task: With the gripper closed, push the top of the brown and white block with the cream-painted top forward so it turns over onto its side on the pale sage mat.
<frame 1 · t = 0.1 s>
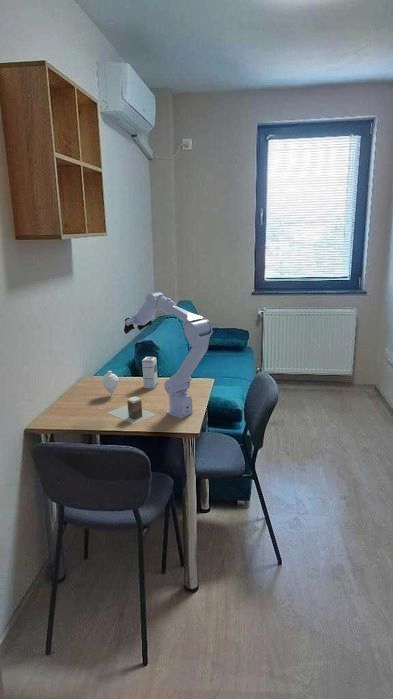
hand: (132, 330, 201), 32 cm above the table, tool tilted 50°, fingers open, 7 cm apart
sage mat: (131, 414, 191), on the table
spinning top: (111, 395, 213), on the table
syrup box: (151, 386, 224), on the table
brown and white block: (135, 416, 187), resting on sage mat
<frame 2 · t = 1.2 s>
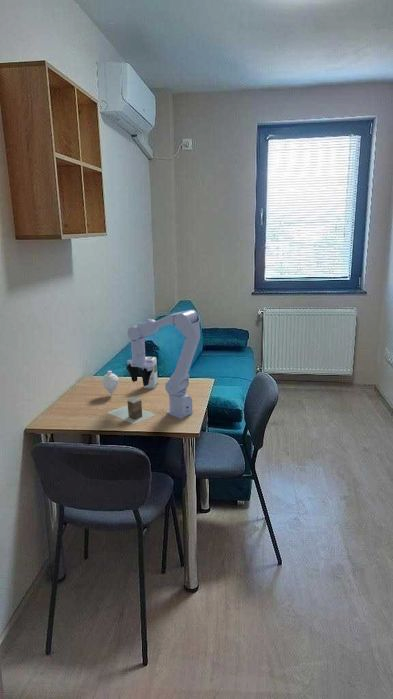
hand: (140, 383, 197), 10 cm above the table, tool pointing down, fingers open, 7 cm apart
nothing on the table moved.
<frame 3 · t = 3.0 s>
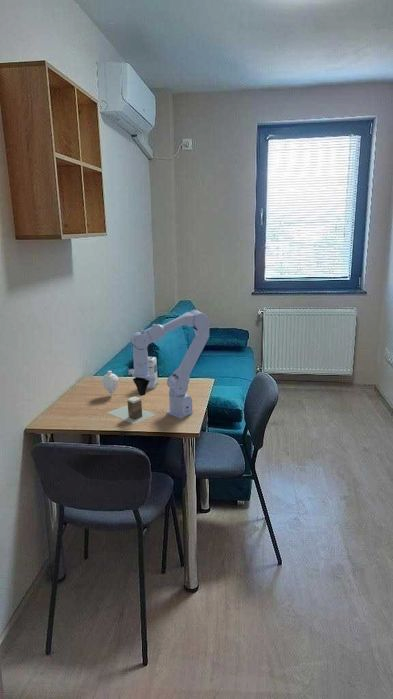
hand: (142, 394, 184), 10 cm above the table, tool pointing down, fingers closed
nothing on the table moved.
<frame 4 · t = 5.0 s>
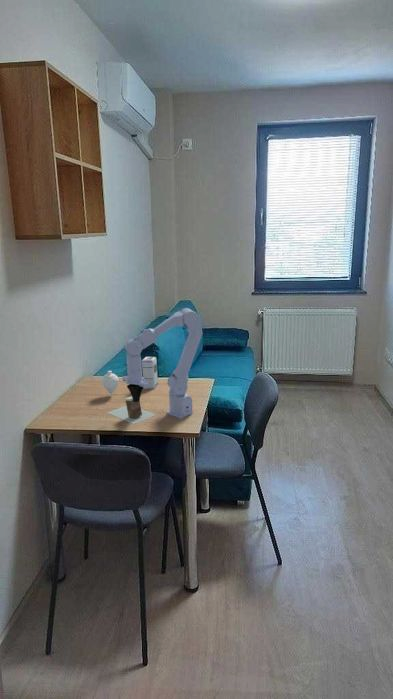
hand: (136, 401, 184), 8 cm above the table, tool pointing down, fingers closed
brown and white block: (135, 416, 187), point 1 cm above the table, tilted 10°, touching sage mat
everything else where it was.
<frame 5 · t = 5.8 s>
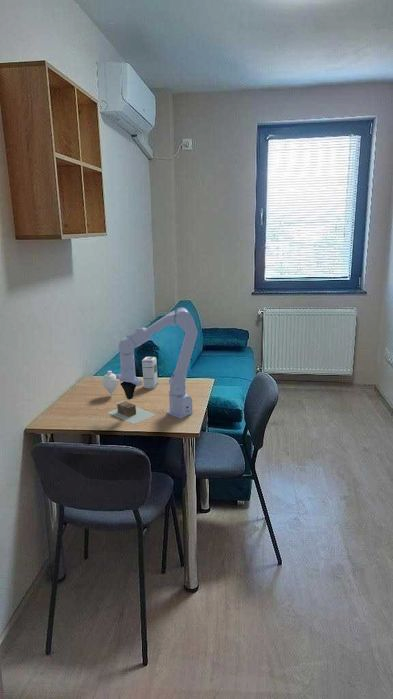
hand: (130, 398, 187), 8 cm above the table, tool pointing down, fingers closed
brown and white block: (132, 411, 188), point 2 cm above the table, tilted 90°, touching sage mat
everything else where it was.
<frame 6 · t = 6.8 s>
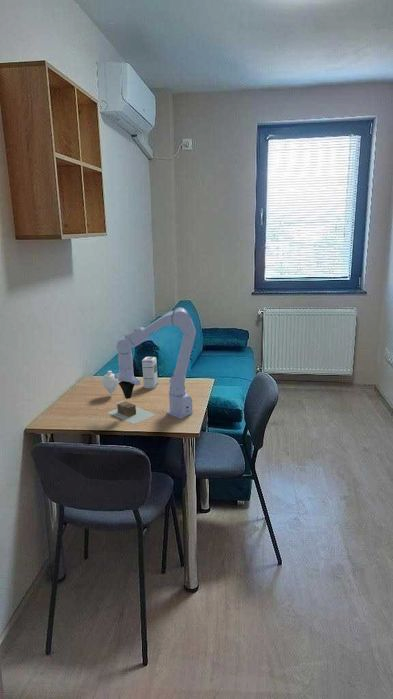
hand: (128, 398, 188), 8 cm above the table, tool pointing down, fingers closed
nothing on the table moved.
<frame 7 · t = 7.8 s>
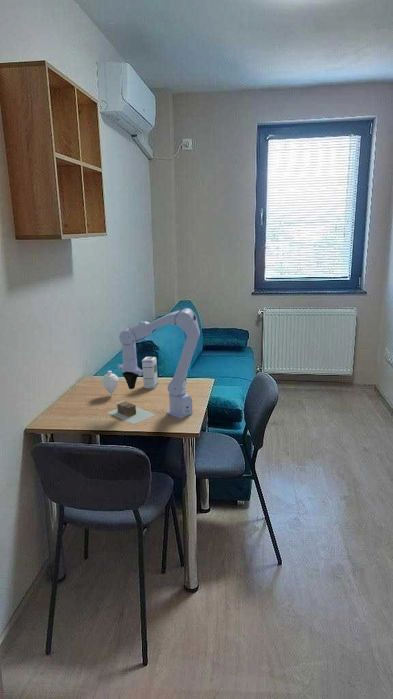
hand: (131, 388, 191), 10 cm above the table, tool pointing down, fingers closed
nothing on the table moved.
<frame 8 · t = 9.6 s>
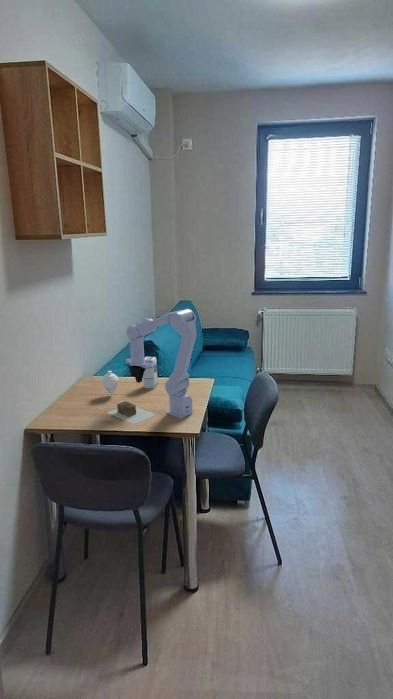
hand: (139, 381, 199), 10 cm above the table, tool pointing down, fingers closed
nothing on the table moved.
at the end: brown and white block tilted 90°; brown and white block inside the target area (1.0 cm from its centre), point 2.4 cm above the table; the gripper is holding nothing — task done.
